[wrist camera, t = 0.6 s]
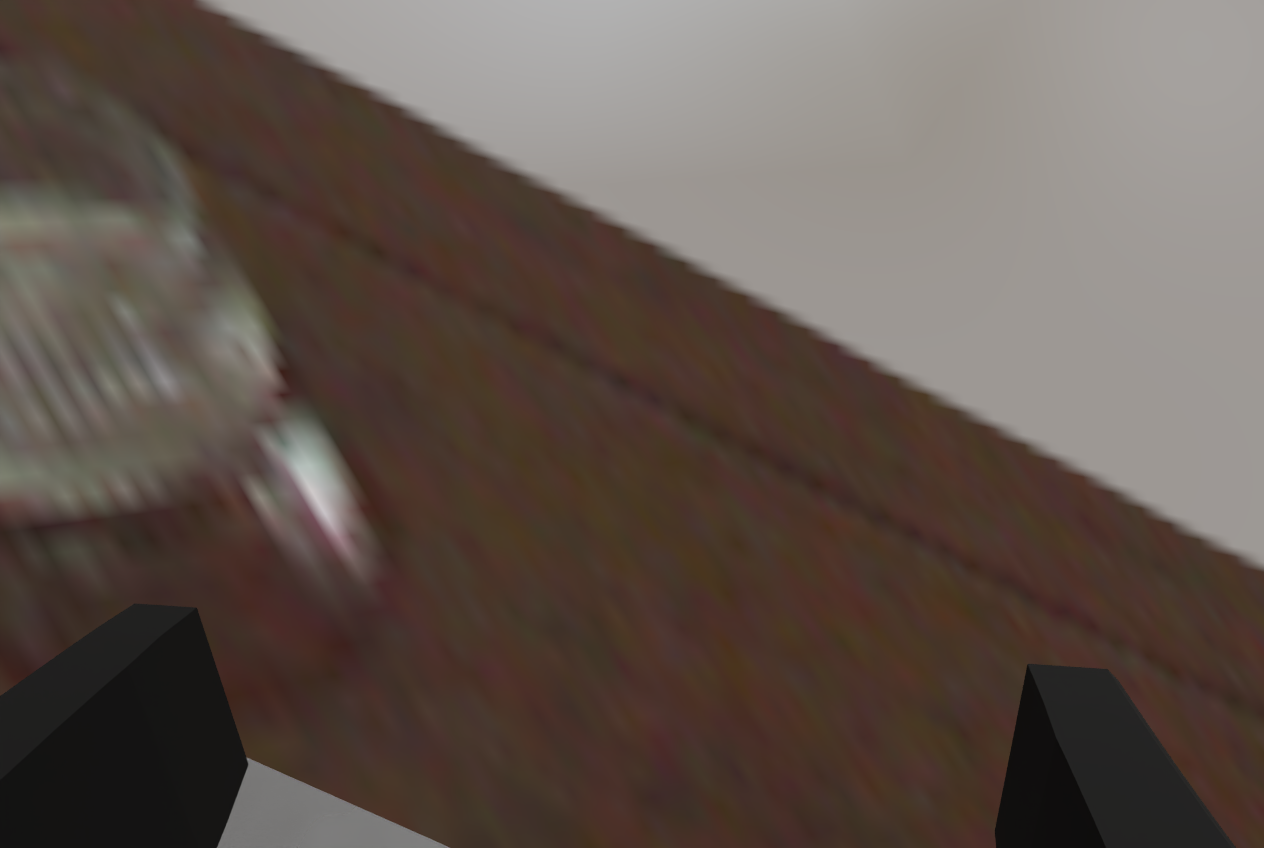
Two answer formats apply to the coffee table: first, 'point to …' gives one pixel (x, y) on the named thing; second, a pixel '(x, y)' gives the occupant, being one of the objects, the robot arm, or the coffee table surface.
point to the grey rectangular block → (306, 818)
